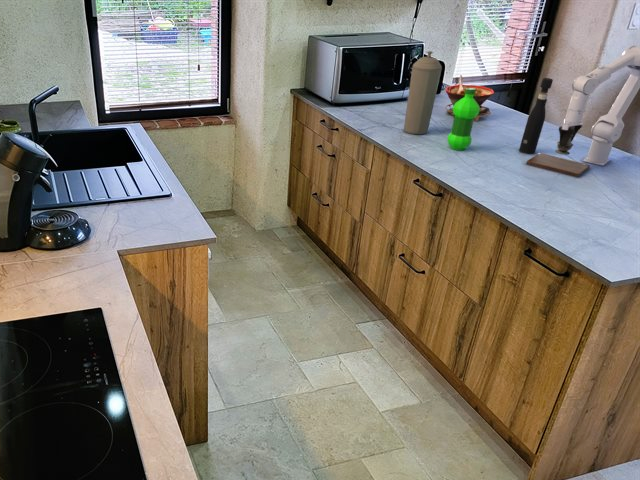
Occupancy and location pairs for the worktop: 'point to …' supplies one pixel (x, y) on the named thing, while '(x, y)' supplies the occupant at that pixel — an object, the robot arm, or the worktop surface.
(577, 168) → the cutting board
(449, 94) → the stew
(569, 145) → the grey stone baluster
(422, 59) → the canister
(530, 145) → the black bottle
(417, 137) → the worktop surface
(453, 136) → the plastic bottle
